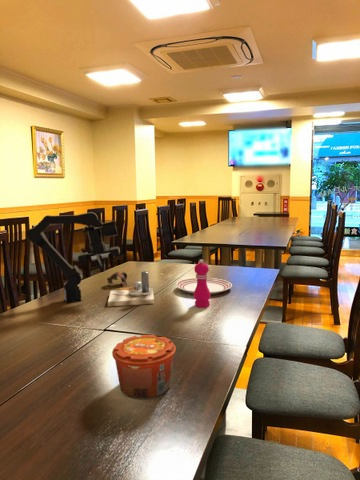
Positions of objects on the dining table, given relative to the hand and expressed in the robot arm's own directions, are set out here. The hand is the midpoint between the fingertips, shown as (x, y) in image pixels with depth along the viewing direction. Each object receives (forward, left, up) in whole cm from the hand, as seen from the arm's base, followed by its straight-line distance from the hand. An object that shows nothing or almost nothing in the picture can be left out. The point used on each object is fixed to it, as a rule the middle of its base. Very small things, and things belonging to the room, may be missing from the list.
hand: (103, 271), depth 172 cm
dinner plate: (+45, -17, -13) cm, 50 cm away
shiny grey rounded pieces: (+12, -12, -10) cm, 19 cm away
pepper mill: (+30, -37, -13) cm, 49 cm away
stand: (+9, -10, -12) cm, 18 cm away
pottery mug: (+14, +17, -13) cm, 26 cm away
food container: (-19, -82, -13) cm, 85 cm away
